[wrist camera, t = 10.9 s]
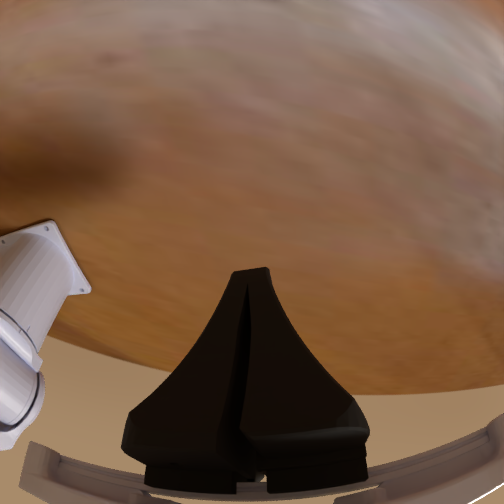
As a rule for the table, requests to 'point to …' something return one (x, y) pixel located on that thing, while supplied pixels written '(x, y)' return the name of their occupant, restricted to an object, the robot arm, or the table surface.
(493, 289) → the table surface
